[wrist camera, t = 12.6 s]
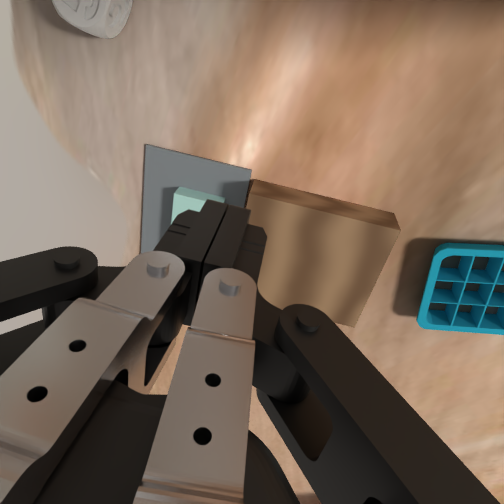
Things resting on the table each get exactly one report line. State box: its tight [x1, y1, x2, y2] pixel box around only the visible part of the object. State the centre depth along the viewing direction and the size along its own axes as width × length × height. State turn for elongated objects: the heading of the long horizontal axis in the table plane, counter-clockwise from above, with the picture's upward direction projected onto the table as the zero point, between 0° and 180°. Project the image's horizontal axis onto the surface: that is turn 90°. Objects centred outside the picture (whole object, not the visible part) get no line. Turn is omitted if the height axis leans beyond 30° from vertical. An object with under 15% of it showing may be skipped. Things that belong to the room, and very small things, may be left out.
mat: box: [141, 144, 252, 253], centre depth 46 cm, size 12×16×1 cm
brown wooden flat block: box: [246, 179, 401, 327], centre depth 45 cm, size 16×14×4 cm
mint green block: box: [171, 187, 225, 225], centre depth 45 cm, size 6×8×2 cm
